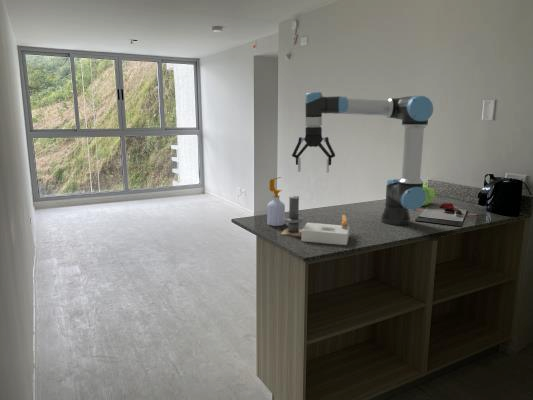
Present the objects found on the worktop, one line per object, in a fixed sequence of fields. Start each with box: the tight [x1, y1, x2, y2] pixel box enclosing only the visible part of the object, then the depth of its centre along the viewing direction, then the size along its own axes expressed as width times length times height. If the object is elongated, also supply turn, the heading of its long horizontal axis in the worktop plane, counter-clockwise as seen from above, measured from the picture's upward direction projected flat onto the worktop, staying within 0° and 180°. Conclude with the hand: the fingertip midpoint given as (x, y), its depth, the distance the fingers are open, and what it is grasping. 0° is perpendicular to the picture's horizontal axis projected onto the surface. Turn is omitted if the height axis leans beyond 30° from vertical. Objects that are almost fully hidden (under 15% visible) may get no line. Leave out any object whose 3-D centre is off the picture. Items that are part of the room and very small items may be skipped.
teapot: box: [421, 181, 437, 207], centre depth 263 cm, size 19×20×14 cm
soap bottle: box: [266, 176, 286, 227], centre depth 209 cm, size 9×9×25 cm
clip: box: [341, 214, 348, 226], centre depth 192 cm, size 15×3×1 cm, turn 171°
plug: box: [284, 195, 304, 233], centre depth 194 cm, size 9×9×17 cm
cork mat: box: [280, 227, 303, 237], centre depth 196 cm, size 10×10×1 cm
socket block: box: [300, 222, 350, 246], centre depth 187 cm, size 20×14×6 cm
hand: (313, 171), depth 195 cm, fingers open, 13 cm apart
